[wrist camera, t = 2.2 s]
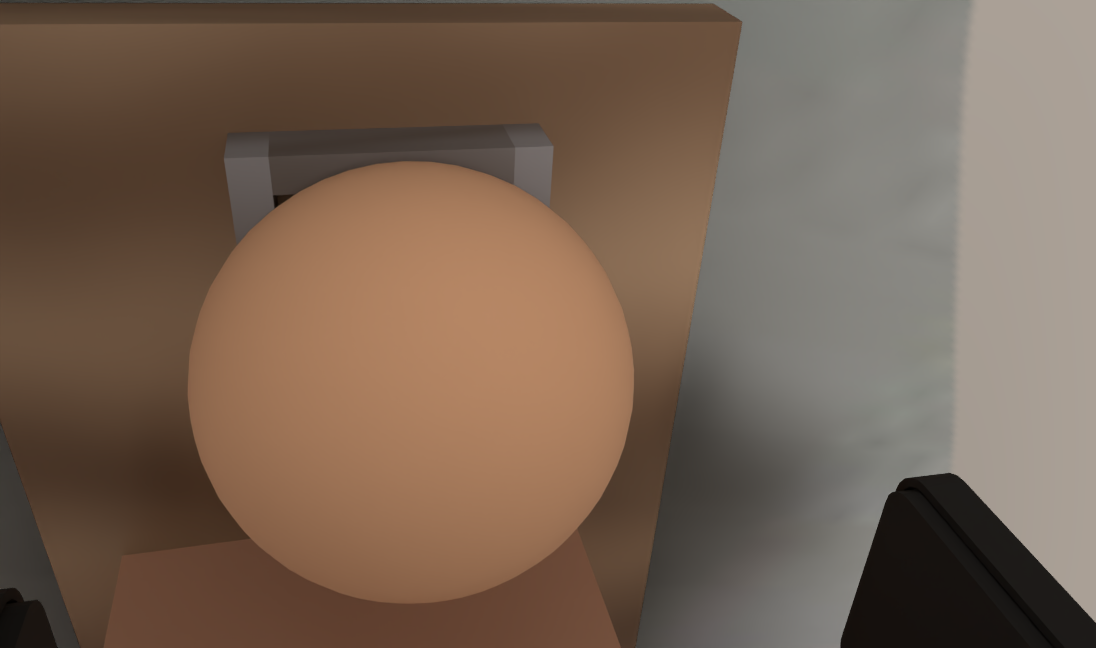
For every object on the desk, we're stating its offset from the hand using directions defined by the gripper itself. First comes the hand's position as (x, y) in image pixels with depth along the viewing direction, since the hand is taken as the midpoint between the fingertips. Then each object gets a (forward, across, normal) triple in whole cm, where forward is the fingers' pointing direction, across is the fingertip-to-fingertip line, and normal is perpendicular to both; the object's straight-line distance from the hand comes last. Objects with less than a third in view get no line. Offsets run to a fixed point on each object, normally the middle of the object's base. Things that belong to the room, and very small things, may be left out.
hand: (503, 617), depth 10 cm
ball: (+7, +1, -1) cm, 7 cm away
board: (+8, +1, +10) cm, 13 cm away
